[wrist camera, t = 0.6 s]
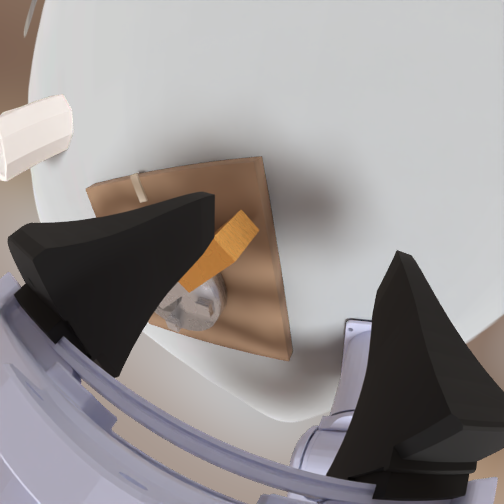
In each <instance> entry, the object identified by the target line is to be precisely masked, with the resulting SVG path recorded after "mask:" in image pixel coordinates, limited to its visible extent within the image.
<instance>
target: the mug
mask: <svg viewBox="0 0 504 504" xmlns="http://www.w3.org/2000/svg"><path fill="white" fill-rule="evenodd" d="M72 136H73V116H72V109H71V107H70V105H69V103H68V102H67V100H66V98H65V96H64V94H61V95H54V96H50V97H47V98H44V99H41V100H38V101H35V102H32V103H29V104H26V105H24V106H21V107H19V108H15V109H12V110H9V111H6V112H3V113H2V114H1V115H0V180H3V181H8V180H10V179H12V178H13V177H15V176H17V175H18V174H20V173H22V172H24V171H25V170H27V169H29V168H31V167H33V166H35V165H37V164H38V163H40V162H42V161H44V160H46V159H48V158H50V157H52V156H54V155H57V154H59V153H61V152H63V151H65V150H67V149H68V147H69V144H70V142H71V139H72Z"/></svg>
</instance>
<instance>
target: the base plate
mask: <svg viewBox="0 0 504 504" xmlns="http://www.w3.org/2000/svg"><path fill="white" fill-rule="evenodd" d="M86 192H87V194H88V197H89V200H90V202H91V205H92V208H93V210H94V213H95V215H96V218H97V217H104V216H109V215H113V214H118V213H122V212H126V211H130V210H134V209H138V208H141V207H145V206H148V205H152V204H155V203H159V202H162V201H165V200H169V199H172V198H176V197H179V196H183V195H186V194H190V193H195V192H206V193H210V194H214V195H215V232H216V231H217V230H218V229H219V228H220V227H221V226H222V225H224V224H225V223H226V222H227V221H228V220H229V219H230V218H232V217H233V216H234V215H235V214H236V213H237V212H239V211H240V210H242V211H243V212H244V213H245V214H246V215H247V216H248V218H249V219H250V220H251V221H252V222H253V223H254V224H255V225H256V226H257V227H258V229H259V232H258V233H257V234H256V235H255V237H254V238H253V239H252V241H251V242H250V243H249V245H248V246H247V247H246V248H245V250H244V251H243V252H242V254H241V255H240V256H239V258H238V259H237V260H236V261H235V262H234V263H233V264H231V265H230V266H228V267H227V268H225V269H224V270H222V271H221V272H220V274H221V276H222V278H223V280H224V283H225V286H226V290H227V304H226V306H225V309H224V310H223V312H222V313H221V315H220V316H219V318H218V319H217V321H216V322H215V323H214V325H213V326H212V327H211V328H209V329H207V330H203V331H191V330H187V329H183V328H181V329H180V331H179V332H176V331H173V330H171V329H169V328H168V326H167V324H166V321H165V319H163V318H162V317H160V316H159V315H158V314H156V313H155V312H154V313H153V315H152V316H151V318H150V319H149V321H148V322H149V324H152V325H155V326H158V327H161V328H164V329H167V330H170V331H173V332H176V333H179V334H182V335H186V336H189V337H192V338H195V339H199V340H202V341H206V342H209V343H213V344H217V345H220V346H224V347H228V348H232V349H236V350H240V351H244V352H248V353H252V354H257V355H261V356H265V357H270V358H275V359H279V360H284V361H289V360H290V357H291V355H292V352H293V349H292V341H291V334H290V327H289V320H288V313H287V306H286V299H285V292H284V285H283V279H282V272H281V266H280V259H279V253H278V247H277V241H276V234H275V228H274V222H273V216H272V211H271V205H270V199H269V193H268V188H267V182H266V176H265V171H264V165H263V160H262V156H261V157H249V158H239V159H230V160H221V161H213V162H205V163H198V164H191V165H185V166H178V167H172V168H167V169H161V170H155V171H150V172H145V173H140V174H138V173H136V174H133V175H130V176H125V177H121V178H116V179H112V180H108V181H104V182H100V183H95V184H93V185H91V186H90V187H88V188H86Z"/></svg>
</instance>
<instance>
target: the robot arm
mask: <svg viewBox="0 0 504 504" xmlns="http://www.w3.org/2000/svg"><path fill="white" fill-rule="evenodd" d="M214 237H215V195H214V194H210V193H206V192H195V193H190V194H186V195H183V196H179V197H176V198H172V199H169V200H165V201H162V202H159V203H155V204H152V205H148V206H145V207H141V208H138V209H134V210H130V211H126V212H122V213H118V214H113V215H109V216H104V217H97V218H91V219H85V220H78V221H69V222H55V223H29V224H26V225H24V226H22V227H21V228H20V229H18V230H17V231H16V232H14V233H13V234H12V235H10V236H9V237H8V246H9V249H10V252H11V254H12V257H13V259H14V261H15V263H16V265H17V267H18V269H19V271H20V273H21V275H22V277H23V279H24V281H25V283H26V284H25V285H24V286H22V287H21V286H20V285H19V283H18V282H17V280H16V279H15V278H14V277H13V275H12V274H11V273H10V272H7V273H6V274H5V275H4V276H3V277H2V278H1V279H0V504H246V503H244V502H241V501H239V500H236V499H234V498H231V497H228V496H226V495H224V494H221V493H219V492H216V491H214V490H212V489H210V488H208V487H206V486H203V485H201V484H199V483H197V482H195V481H193V480H191V479H189V478H187V477H185V476H183V475H181V474H179V473H177V472H176V471H174V470H172V469H170V468H169V467H167V466H165V465H163V464H161V463H160V462H158V461H156V460H155V459H153V458H152V457H150V456H148V455H147V454H145V453H144V452H142V451H141V450H139V449H138V448H136V447H134V446H133V445H132V444H130V443H129V442H127V441H126V440H124V439H123V438H122V437H120V436H119V435H118V434H116V433H115V432H114V431H112V429H111V428H112V427H113V425H114V424H115V422H116V421H117V417H116V416H114V415H113V414H112V413H111V412H110V411H108V410H107V409H106V408H105V407H104V406H103V405H102V404H101V403H100V402H99V401H97V399H96V398H95V397H94V396H93V395H92V394H91V393H90V392H89V391H88V390H86V389H85V388H84V387H83V386H82V385H81V379H83V380H84V381H85V382H86V383H87V384H88V385H90V386H91V387H92V388H93V389H94V390H95V391H97V392H98V393H99V394H100V395H102V396H103V397H104V398H105V399H107V400H108V401H109V402H110V403H112V404H113V405H114V406H116V407H117V408H118V409H120V410H121V411H123V412H124V413H125V414H127V415H128V416H130V417H131V418H133V419H134V420H135V421H137V422H138V423H140V424H141V425H143V426H144V427H146V428H148V429H149V430H151V431H152V432H154V433H155V434H157V435H159V436H160V437H162V438H164V439H165V440H167V441H169V442H170V443H172V444H174V445H176V446H178V447H180V448H181V449H183V450H185V451H187V452H189V453H191V454H193V455H195V456H197V457H199V458H201V459H203V460H205V461H207V462H209V463H211V464H213V465H216V466H218V467H220V468H222V469H225V470H227V471H229V472H232V473H234V474H237V475H239V476H242V477H244V478H247V479H250V480H252V481H256V482H258V483H261V484H264V485H267V486H270V487H273V488H277V489H280V490H283V491H287V492H288V494H287V496H288V497H284V496H280V495H276V494H271V495H266V494H263V495H261V496H260V498H259V500H258V502H257V504H493V502H494V497H495V492H496V486H497V480H498V478H497V477H491V478H485V479H477V480H472V481H468V478H469V474H470V473H473V472H475V470H476V465H477V461H479V460H481V459H483V458H485V457H487V456H489V455H491V454H493V453H495V452H497V451H499V450H501V449H503V448H504V392H503V390H502V389H501V388H500V387H499V386H498V385H497V384H496V383H495V381H494V380H493V379H492V378H491V377H490V376H489V374H488V373H487V372H486V371H485V369H484V368H483V367H482V365H481V364H480V363H479V362H478V360H477V359H476V357H475V356H474V355H473V354H472V352H471V351H470V349H469V348H468V347H467V345H466V344H465V342H464V341H463V339H462V338H461V336H460V335H459V333H458V332H457V330H456V329H455V327H454V326H453V324H452V323H451V321H450V320H449V318H448V316H447V315H446V313H445V311H444V309H443V308H442V306H441V305H440V303H439V301H438V299H437V298H436V296H435V294H434V292H433V291H432V289H431V287H430V285H429V283H428V282H427V280H426V278H425V276H424V275H423V273H422V271H421V269H420V268H419V266H418V264H417V263H416V261H415V260H414V258H413V257H412V256H411V255H409V254H406V253H403V252H401V251H398V250H397V251H396V253H395V256H394V258H393V260H392V262H391V264H390V266H389V268H388V270H387V272H386V274H385V276H384V278H383V280H382V282H381V284H380V286H379V288H378V290H377V294H376V299H375V304H374V309H373V315H372V322H366V321H356V320H349V321H347V323H346V329H345V341H344V350H343V359H342V368H341V377H340V381H339V385H338V388H337V392H336V395H335V399H334V402H333V406H332V409H331V412H330V415H329V416H323V417H322V419H321V422H320V425H319V426H312V427H311V428H310V429H308V430H307V431H306V432H305V433H304V434H303V435H302V436H301V438H300V439H299V440H298V442H297V444H296V446H295V448H294V451H293V453H292V457H291V460H290V466H287V465H283V464H280V463H277V462H274V461H271V460H268V459H265V458H262V457H260V456H257V455H254V454H252V453H249V452H247V451H244V450H241V449H239V448H237V447H234V446H232V445H229V444H227V443H225V442H223V441H221V440H218V439H216V438H214V437H212V436H210V435H208V434H206V433H204V432H202V431H200V430H198V429H195V428H194V427H192V426H190V425H188V424H186V423H184V422H182V421H181V420H179V419H177V418H175V417H173V416H172V415H170V414H168V413H166V412H165V411H163V410H161V409H160V408H158V407H156V406H155V405H153V404H152V403H150V402H148V401H147V400H145V399H144V398H142V397H141V396H139V395H138V394H136V393H135V392H133V391H132V390H130V389H129V388H127V387H126V386H124V385H123V384H122V383H120V382H119V381H118V380H116V379H115V377H118V376H119V375H120V373H121V370H122V368H123V366H124V364H125V362H126V360H127V358H128V356H129V354H130V352H131V350H132V348H133V346H134V344H135V343H136V341H137V339H138V337H139V335H140V334H141V332H142V330H143V329H144V327H145V326H146V324H147V322H148V321H149V319H150V318H151V316H152V315H153V313H154V312H155V310H156V309H157V307H158V306H159V304H160V303H161V302H162V300H163V299H164V297H165V296H166V295H167V294H168V293H169V291H170V290H171V289H172V288H173V287H174V286H175V285H176V284H177V282H178V281H179V280H180V279H181V278H182V277H183V276H184V275H185V274H186V273H187V272H188V270H189V269H190V268H191V267H192V266H193V265H194V264H195V263H196V262H197V261H198V259H199V258H200V257H201V256H202V255H203V253H204V252H205V251H206V249H207V248H208V246H209V245H210V243H211V242H212V240H213V239H214Z"/></svg>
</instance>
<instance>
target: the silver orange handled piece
mask: <svg viewBox="0 0 504 504" xmlns="http://www.w3.org/2000/svg"><path fill="white" fill-rule="evenodd" d="M258 232H259V229H258V227H257V226H256V225H255V224H254V223H253V222H252V221H251V220H250V219H249V218H248V216H247V215H246V214H245V213H244V212H243V211H242V210H240V211H239V212H237V213H236V214H235V215H234V216H233V217H232V218H230V219H229V220H228V221H227V222H226V223H225V224H224V225H222V226H221V227H220V228H219V229H218V230H217V231H216V232H215V237H214V239H213V240H212V242H211V243H210V245H209V246H208V248H207V249H206V251H205V252H204V253H203V255H202V256H201V257H200V258H199V259H198V261H197V262H196V263H195V264H194V265H193V266H192V267H191V268H190V269H189V270H188V272H187V273H186V274H185V275H184V276H183V277H182V278H181V279H180V280H179V281H178V282H177V284H176V285H175V286H174V287H173V288H172V289H171V290H170V291H169V293H168V294H167V295H166V296H165V297H164V299H163V300H162V302H161V303H160V304H159V306H158V307H157V309H156V310H155V313H156V314H158V315H159V316H160V317H162V318H163V319H165V321H166V324H167V326H168V328H169V329H171V330H173V331H176V332H179V331H180V329H181V328H183V329H187V330H191V331H203V330H207V329H209V328H211V327H212V326H213V325H214V323H215V322H216V321H217V319H218V318H219V316H220V315H221V313H222V312H223V310H224V309H225V306H226V304H227V290H226V286H225V283H224V280H223V278H222V276H221V274H220V272H221V271H222V270H224V269H225V268H227V267H228V266H230V265H231V264H233V263H234V262H235V261H236V260H237V259H238V258H239V256H240V255H241V254H242V252H243V251H244V250H245V248H246V247H247V246H248V245H249V243H250V242H251V241H252V239H253V238H254V237H255V235H256V234H257V233H258Z"/></svg>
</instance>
